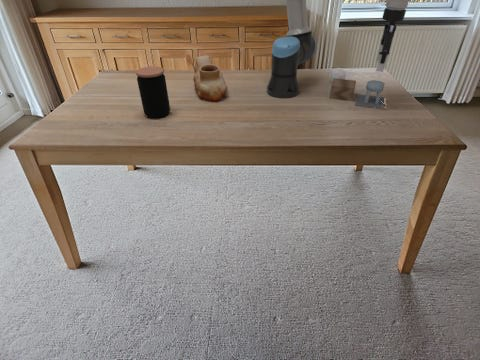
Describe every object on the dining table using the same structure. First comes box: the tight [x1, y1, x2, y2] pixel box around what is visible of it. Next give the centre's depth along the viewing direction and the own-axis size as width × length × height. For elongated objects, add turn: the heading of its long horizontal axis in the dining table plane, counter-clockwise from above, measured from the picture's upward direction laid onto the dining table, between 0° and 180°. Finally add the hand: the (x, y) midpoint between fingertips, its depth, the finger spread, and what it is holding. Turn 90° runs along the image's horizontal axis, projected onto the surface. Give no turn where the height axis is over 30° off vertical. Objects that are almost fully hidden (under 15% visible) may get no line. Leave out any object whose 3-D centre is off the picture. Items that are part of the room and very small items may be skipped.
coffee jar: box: [135, 65, 171, 120], centre depth 123 cm, size 11×11×18 cm
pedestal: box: [329, 78, 357, 102], centre depth 140 cm, size 10×10×6 cm
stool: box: [364, 80, 386, 104], centre depth 134 cm, size 7×7×8 cm
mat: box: [354, 93, 388, 109], centre depth 136 cm, size 13×13×1 cm
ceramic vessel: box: [192, 54, 228, 103], centre depth 143 cm, size 14×26×15 cm, turn 19°
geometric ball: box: [328, 67, 347, 84], centre depth 153 cm, size 8×8×8 cm
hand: (379, 66), depth 127 cm, fingers open, 13 cm apart
